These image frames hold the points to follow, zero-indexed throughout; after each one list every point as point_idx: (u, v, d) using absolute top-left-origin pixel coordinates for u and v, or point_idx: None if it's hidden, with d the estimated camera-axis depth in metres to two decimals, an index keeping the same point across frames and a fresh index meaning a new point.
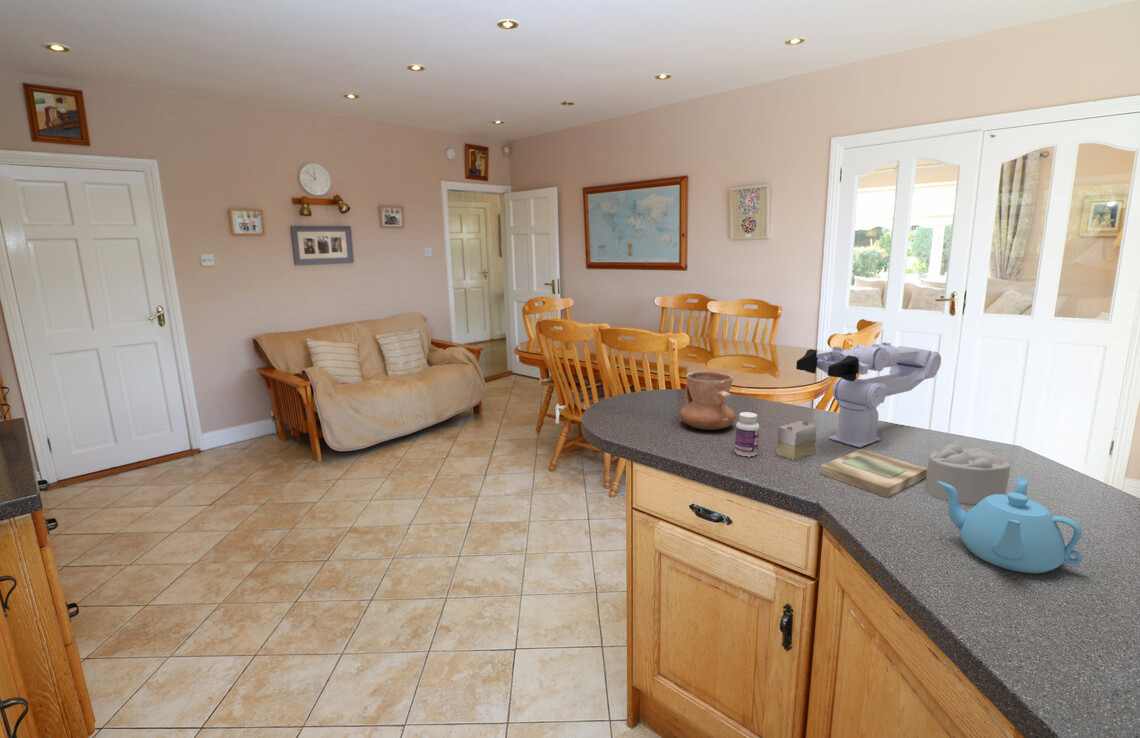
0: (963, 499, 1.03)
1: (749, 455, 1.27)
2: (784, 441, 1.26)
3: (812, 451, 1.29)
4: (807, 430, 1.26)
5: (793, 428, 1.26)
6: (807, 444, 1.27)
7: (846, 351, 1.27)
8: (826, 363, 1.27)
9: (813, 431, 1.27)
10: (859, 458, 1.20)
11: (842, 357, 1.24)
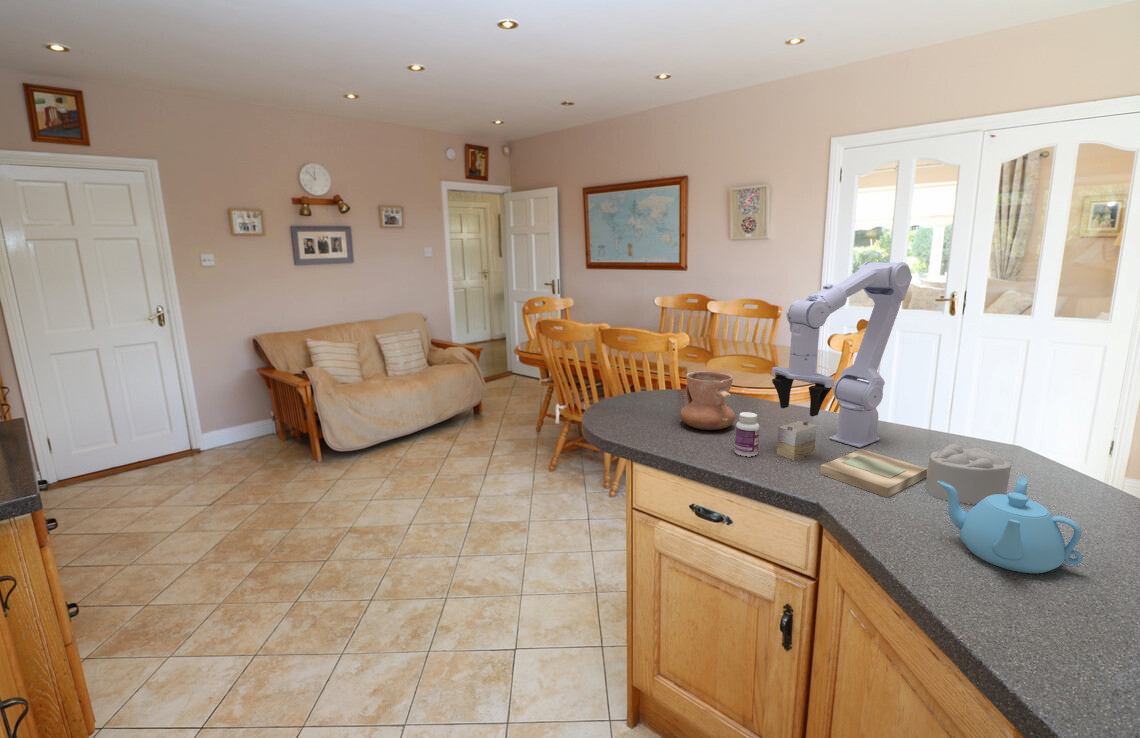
0: (964, 499, 1.03)
1: (749, 455, 1.27)
2: (784, 441, 1.26)
3: (812, 451, 1.29)
4: (807, 429, 1.26)
5: (793, 428, 1.26)
6: (807, 444, 1.27)
7: (797, 364, 1.22)
8: None
9: (813, 431, 1.27)
10: (859, 458, 1.20)
11: (803, 378, 1.22)
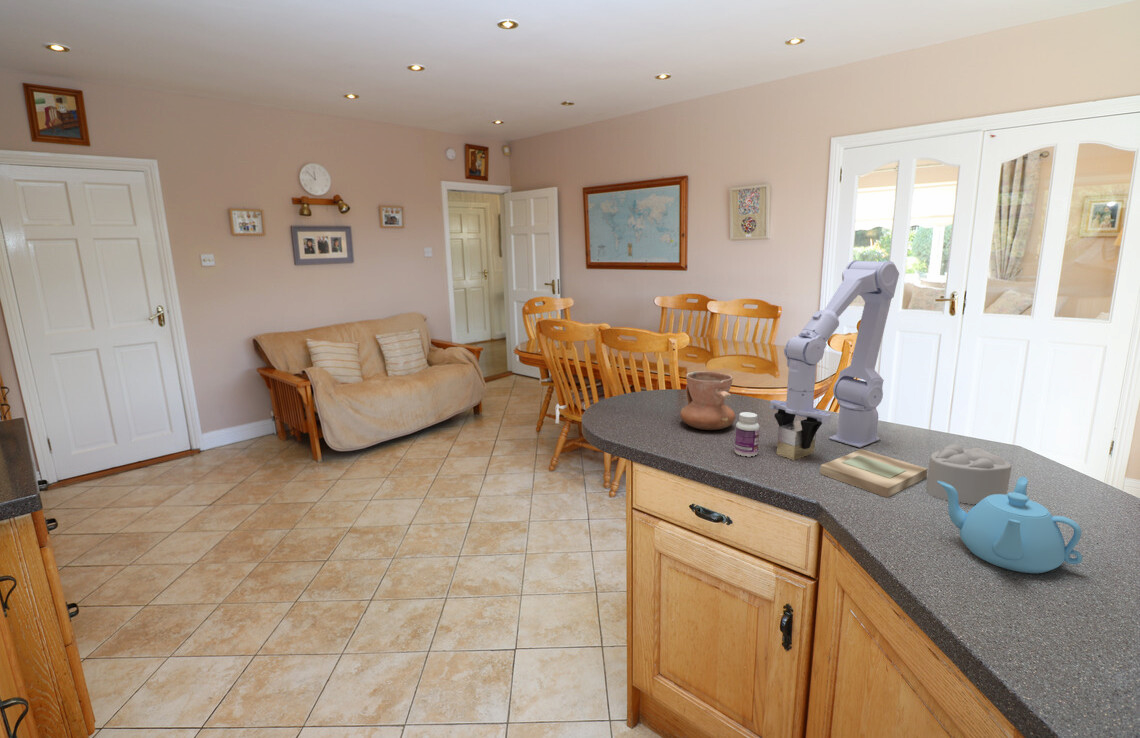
0: (964, 499, 1.03)
1: (749, 455, 1.27)
2: (784, 440, 1.26)
3: (812, 451, 1.29)
4: None
5: (793, 428, 1.26)
6: None
7: (795, 400, 1.24)
8: None
9: None
10: (859, 458, 1.20)
11: None
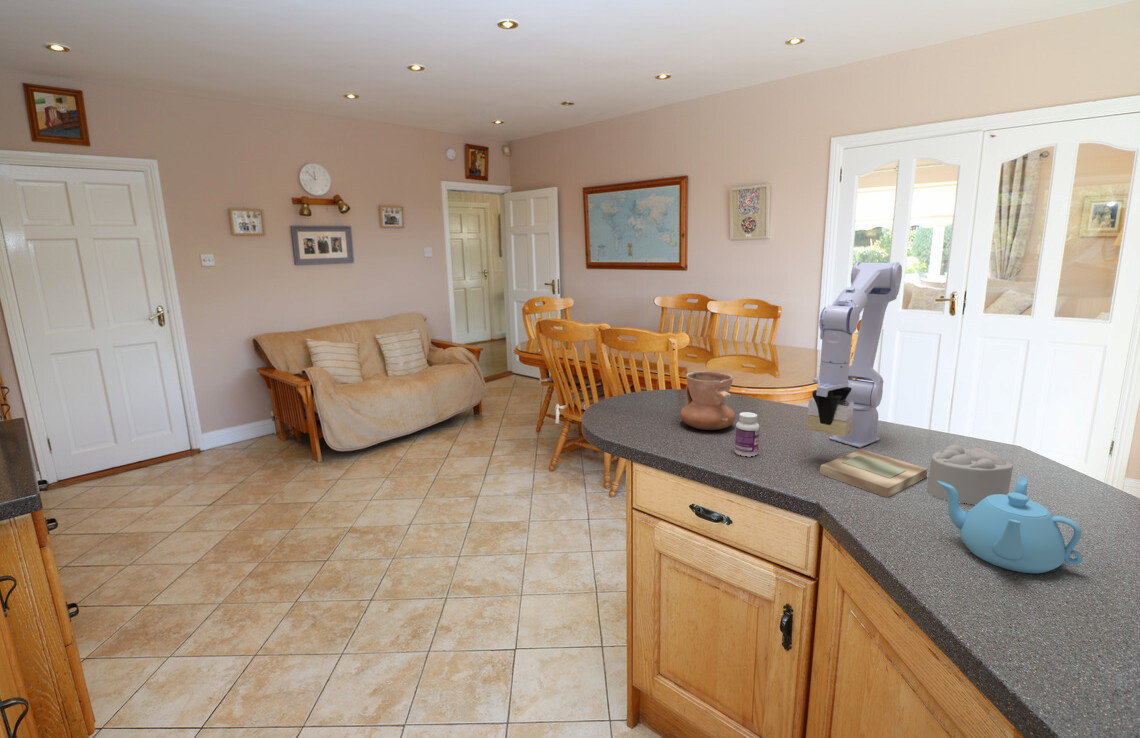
0: (966, 500, 1.03)
1: (749, 455, 1.27)
2: None
3: (840, 433, 1.18)
4: None
5: None
6: None
7: None
8: None
9: (840, 411, 1.17)
10: (859, 458, 1.20)
11: None
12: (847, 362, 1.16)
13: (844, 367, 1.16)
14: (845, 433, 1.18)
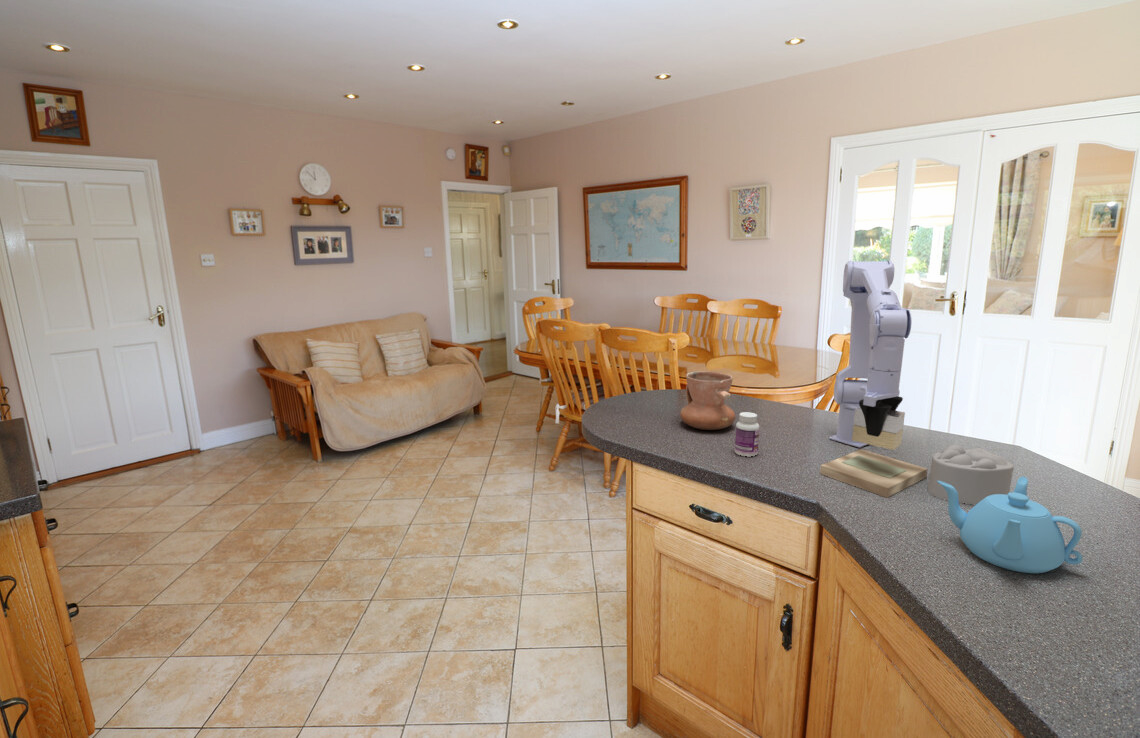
0: (967, 500, 1.03)
1: (749, 455, 1.27)
2: None
3: (889, 446, 1.11)
4: None
5: None
6: None
7: None
8: None
9: (889, 422, 1.10)
10: (859, 458, 1.20)
11: None
12: (898, 370, 1.08)
13: (895, 375, 1.08)
14: (895, 446, 1.10)
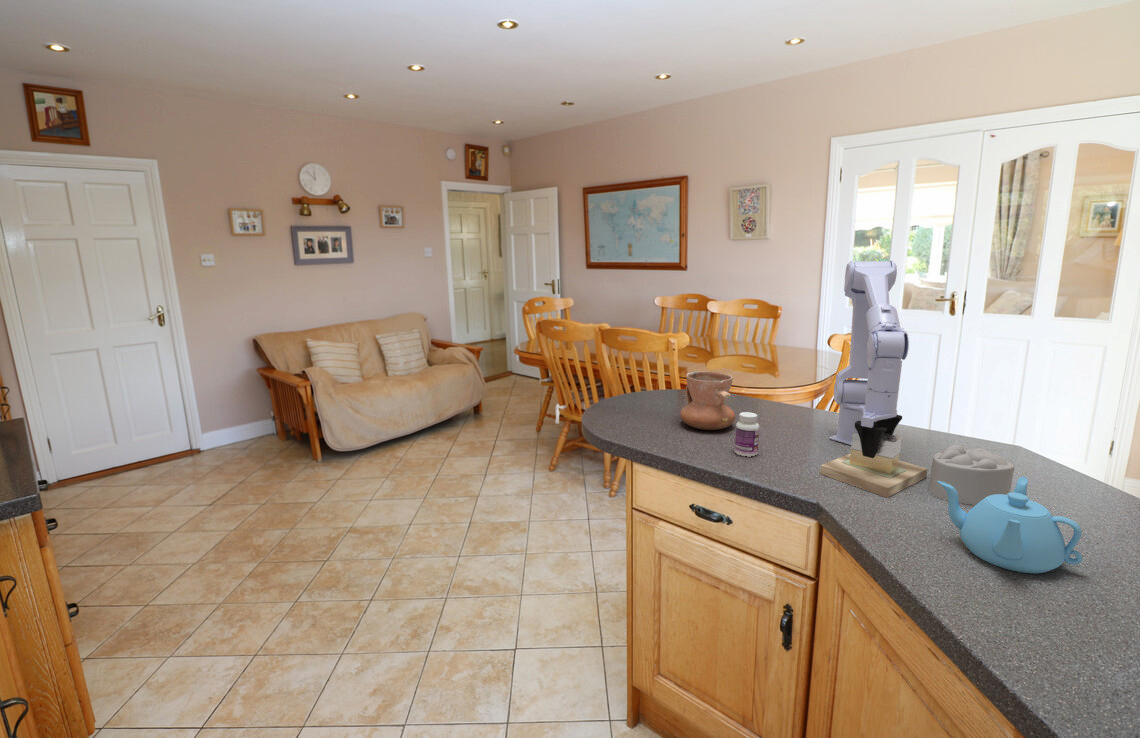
0: (968, 500, 1.03)
1: (749, 455, 1.27)
2: None
3: (886, 470, 1.12)
4: None
5: None
6: (875, 457, 1.13)
7: None
8: None
9: (886, 447, 1.11)
10: None
11: None
12: (896, 391, 1.09)
13: (892, 396, 1.09)
14: (891, 470, 1.11)
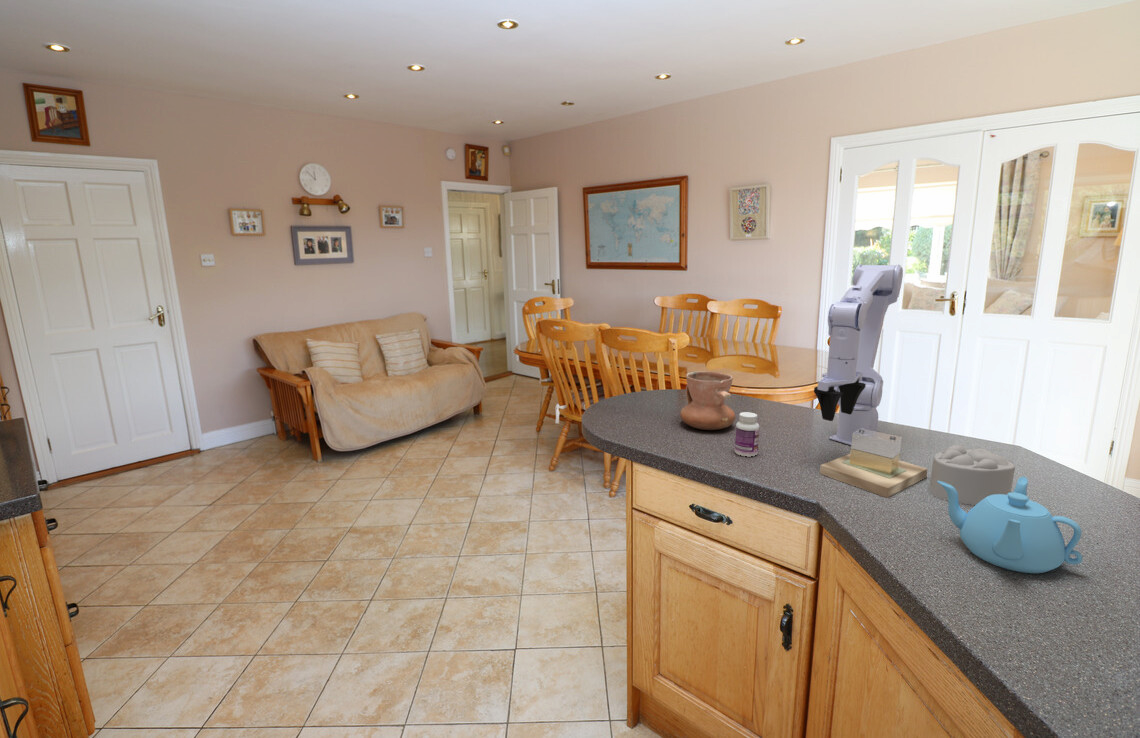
0: (969, 500, 1.03)
1: (749, 455, 1.27)
2: None
3: (886, 470, 1.12)
4: (875, 440, 1.12)
5: (865, 433, 1.15)
6: (875, 457, 1.13)
7: None
8: (843, 383, 1.22)
9: (886, 447, 1.11)
10: None
11: None
12: (853, 358, 1.17)
13: (849, 363, 1.17)
14: (891, 470, 1.11)
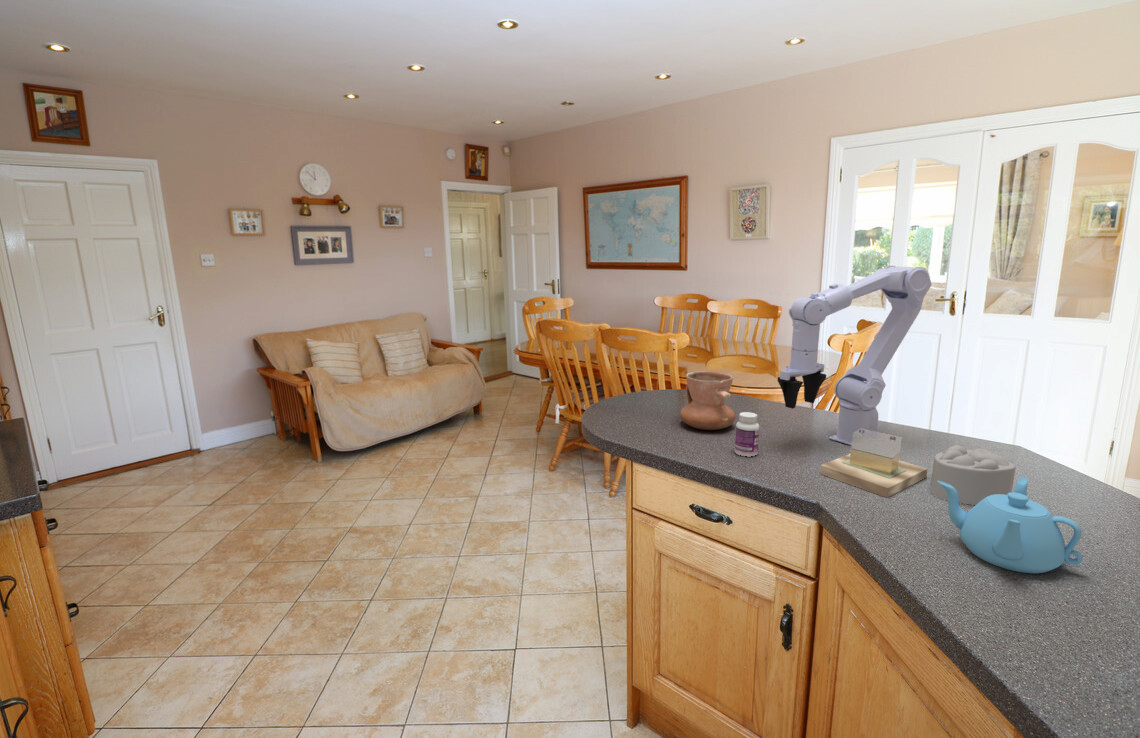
0: (969, 501, 1.03)
1: (749, 455, 1.27)
2: None
3: (886, 470, 1.12)
4: (875, 440, 1.12)
5: (865, 433, 1.15)
6: (875, 457, 1.13)
7: None
8: (805, 374, 1.31)
9: (886, 447, 1.11)
10: None
11: None
12: (813, 350, 1.26)
13: (809, 355, 1.26)
14: (891, 470, 1.11)
